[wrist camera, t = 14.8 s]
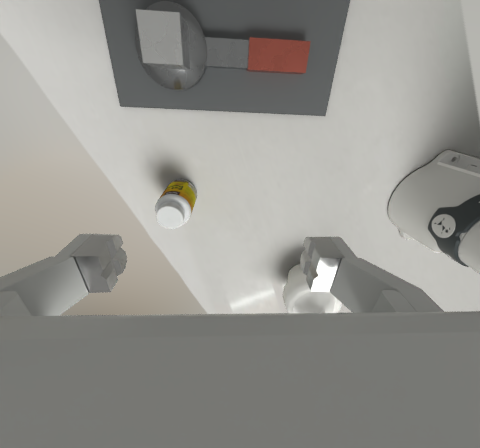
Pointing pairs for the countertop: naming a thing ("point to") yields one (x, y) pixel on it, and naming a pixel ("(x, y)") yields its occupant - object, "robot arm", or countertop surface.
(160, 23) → the light grey block
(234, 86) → the mat
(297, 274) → the potted plant
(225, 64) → the ratchet
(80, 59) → the countertop surface
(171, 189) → the supplement bottle
